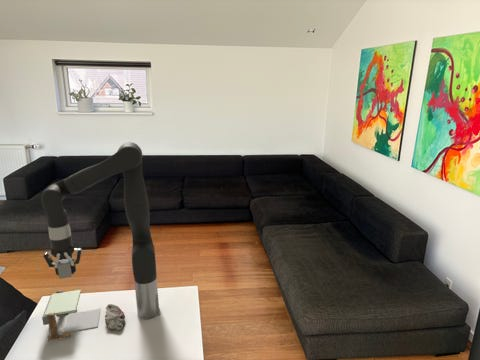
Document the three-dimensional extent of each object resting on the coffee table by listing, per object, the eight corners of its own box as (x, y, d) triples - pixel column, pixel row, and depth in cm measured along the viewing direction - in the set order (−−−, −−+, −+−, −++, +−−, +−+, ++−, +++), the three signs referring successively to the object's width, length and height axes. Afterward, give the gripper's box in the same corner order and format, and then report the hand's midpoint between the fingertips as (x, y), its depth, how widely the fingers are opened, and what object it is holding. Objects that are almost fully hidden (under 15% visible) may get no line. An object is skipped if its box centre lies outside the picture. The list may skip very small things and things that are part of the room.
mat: (100, 309, 154) (100, 308, 154) (97, 327, 143) (97, 326, 143) (68, 314, 151) (68, 313, 151) (63, 333, 140) (63, 332, 140)
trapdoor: (82, 298, 151) (80, 289, 150) (76, 319, 138) (75, 309, 137) (51, 303, 148) (50, 294, 147) (43, 325, 135) (41, 315, 134)
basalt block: (71, 277, 138) (69, 263, 136) (59, 278, 137) (57, 265, 135) (73, 271, 142) (71, 258, 140) (61, 272, 141) (59, 259, 139)
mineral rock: (124, 331, 141) (124, 321, 140) (104, 334, 139) (103, 325, 138) (125, 309, 155) (125, 300, 154) (107, 312, 153) (106, 303, 152)
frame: (77, 309, 154) (73, 287, 151) (69, 337, 137) (65, 313, 134) (57, 312, 152) (53, 290, 149) (47, 341, 135) (43, 316, 132)
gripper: (37, 241, 129) (44, 281, 134) (78, 237, 133) (84, 276, 138) (42, 233, 136) (49, 271, 141) (81, 229, 140) (86, 266, 144)
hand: (66, 273), depth 139 cm, fingers closed on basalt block, 4 cm apart
